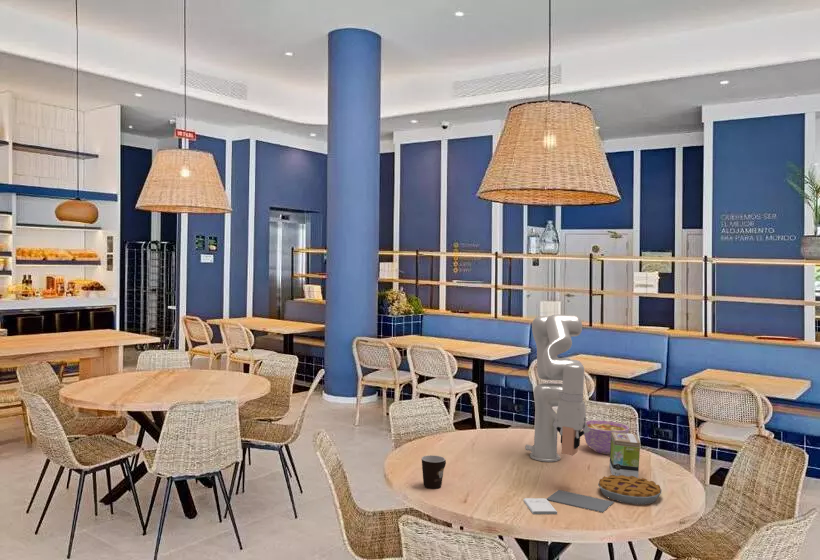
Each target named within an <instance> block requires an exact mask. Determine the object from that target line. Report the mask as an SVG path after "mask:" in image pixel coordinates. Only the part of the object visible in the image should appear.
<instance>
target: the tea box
mask: <svg viewBox="0 0 820 560" xmlns="http://www.w3.org/2000/svg"><path fill="white" fill-rule="evenodd" d="M640 451H641V441H640V440H639V438H638V435H636V433H629V432H628V433H617V432H611V446H610V454H609V465H608V466H609V470H610V473H611V475H615V476H620V475H624V476H628V477H629V476H634V477H637V478H639V471H640V470H639V469H640V454H641V453H640Z"/></svg>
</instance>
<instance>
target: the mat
mask: <svg viewBox="0 0 820 560" xmlns="http://www.w3.org/2000/svg"><path fill="white" fill-rule="evenodd" d="M546 499H547V500H548V501H549V502H553V503H559V504H562V505H566V506H571V507H576V508H580V509H584V508H585V509H584V510H588V509H589V510H588V511H592V510H595V511H594V512H597V511H599V512H598V513H601V512H604V511H605V510H606V509H607V508H608V507H609V506H610V507H611V506H612V505H613V504H615V501H611V500H608V499H604V498H603V499H602V498H598V497H592V496H589V495H584V494H580V493H576V492H570V491H568V490H567V491H566V490H562V489H557V490H556V491H555V492H553V493H552V494H550V495H549V496H548V497H547V498H546ZM610 507H609V508H610ZM609 508H608V509H609ZM608 509H607V510H608ZM607 510H606V511H607ZM606 511H605V512H606ZM605 512H604V513H605Z"/></svg>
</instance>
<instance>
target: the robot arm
mask: <svg viewBox="0 0 820 560" xmlns="http://www.w3.org/2000/svg"><path fill="white" fill-rule="evenodd" d="M582 330H583V323H582V320H581V318H580V317H579V316H578V315H576V314H551V315H543V316H541V315H540V316H537V317H535V318H534V319H533V320H532V324H531V332H532V336H533V339H534V342H535V345H536V372H537V376H538V378H539V379H540V380H543V381H560V382H562V383H554V382H553V383H551V382H549V383H547V382H545V383H544V382H543V383H540V384H539V383H538V384H537V385H536V386H535V387H534V389H533V397H534V410H535V411H534V436H533V438H534V439H533V442H534V443H533V445H531V444H525V446H524V447H525V448H524V449H525V451H530V453H529V458H531V459H533V460H536V461H538V462H544V463H545V462H546V463H548V462H549V463H553V462H558V461H560V460H561V456H560V454H558V452H557V450H558V433H559V435H560V444H562V433H563V426H564V427H569V428H574V430H575V435H576V436H575V438H574V449H576V448H578V449H579V447H580V445H581V437H582V436H583V435H584V434H585V433H587V432H589V431H590V429H589V427H588V425H587V423H586V421H587V414H586V413H587V411H586V404H585V402H584V401H583V400H584V383H585V382H584V381H585V367H584V365H583V363H582V362H581V361H580V360H578V359H570V358H566V357H558V355H561V354H564V353H566V352H567V351H569V350H571V348H572V346H573V341H572V337H578V336H580V335H581V334H582ZM553 407H557V410H556V411H555V409H553ZM583 428H584V430H583Z"/></svg>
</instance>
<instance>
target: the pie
mask: <svg viewBox="0 0 820 560" xmlns="http://www.w3.org/2000/svg"><path fill="white" fill-rule="evenodd" d="M597 486H598V487H599V488H600V491H601V493H602V495H603V496H604V495H605V496H607V497H606V498H608V497H609V498H608V499H610V498H611V499H610V500H612V499H614V500H613V501H616V500H618V501H617V502H620V501H621V502H620V503H624V502H625V503H624V504H631V503H632V504H631V505H649V504H652V503H655V502H656V501H657V500H658V497H659V496H660V495H661V494H662V489H661V486H660V484H656V482H655V481H653V480H648V479H647V478H643V477H642V478H640V477H638V478H637V477H634V476H629V477H628V476H624V475H620V476H615V475H612V474H610V475H609V476H603V477H602V478H600V479H599V481H598V483H597ZM605 496H604V497H605Z"/></svg>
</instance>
